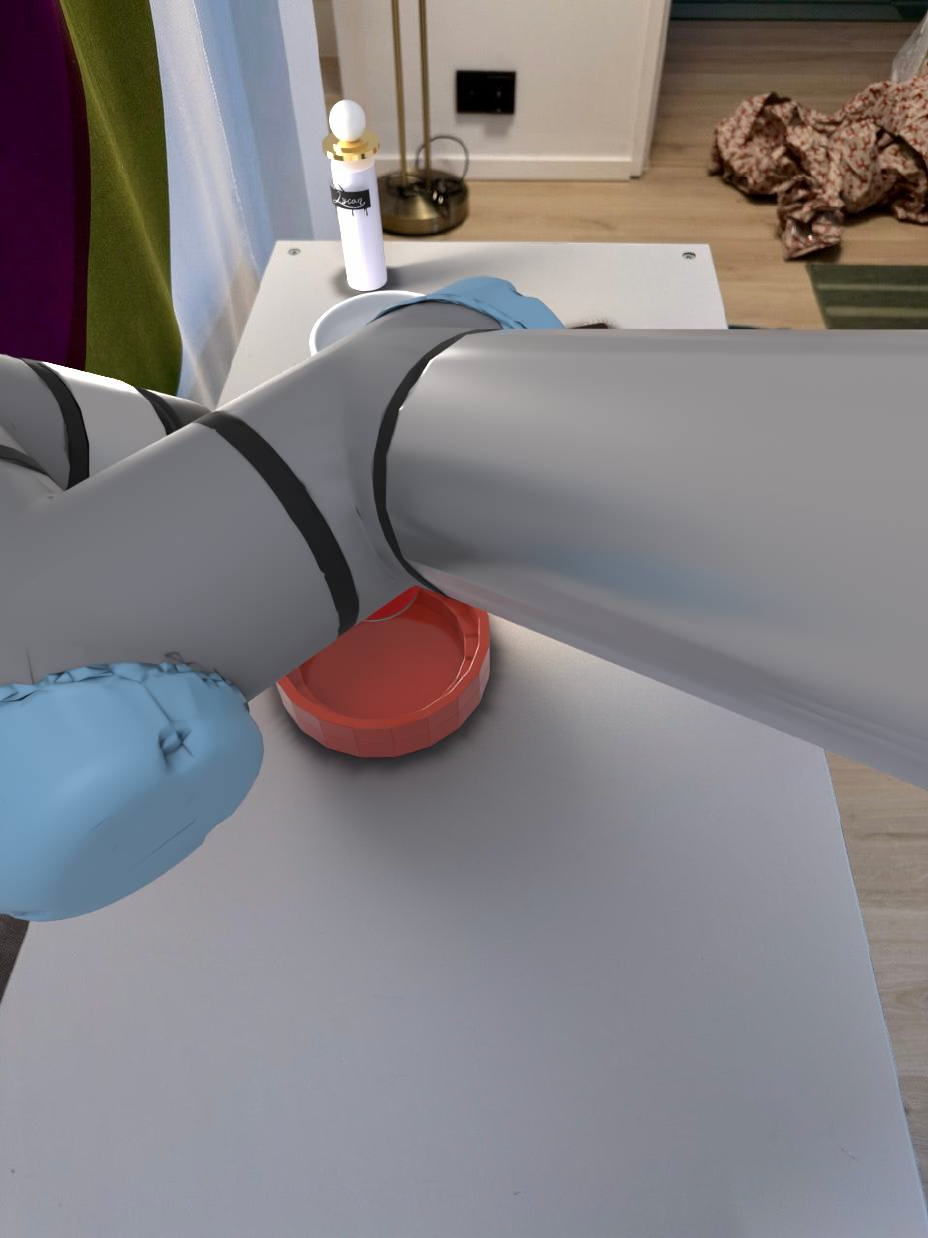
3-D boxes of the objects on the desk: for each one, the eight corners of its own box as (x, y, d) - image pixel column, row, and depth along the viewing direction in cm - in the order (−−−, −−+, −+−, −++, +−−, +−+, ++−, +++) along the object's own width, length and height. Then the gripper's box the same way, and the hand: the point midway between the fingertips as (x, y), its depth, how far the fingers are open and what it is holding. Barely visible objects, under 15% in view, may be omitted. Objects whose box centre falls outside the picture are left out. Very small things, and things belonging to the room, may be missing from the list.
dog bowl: (347, 329, 98) (339, 280, 93) (482, 348, 96) (482, 298, 91) (297, 420, 90) (286, 370, 85) (444, 443, 87) (441, 394, 82)
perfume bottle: (351, 268, 105) (326, 85, 89) (399, 273, 105) (381, 90, 89) (336, 296, 102) (307, 112, 86) (385, 302, 101) (365, 116, 85)
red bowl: (519, 725, 68) (521, 690, 64) (304, 790, 65) (292, 757, 61) (452, 567, 78) (450, 527, 74) (263, 617, 75) (250, 579, 71)
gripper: (-57, 469, 40) (273, 509, 60) (251, 683, 33) (505, 644, 53) (-9, 306, 38) (313, 404, 59) (328, 493, 31) (559, 529, 51)
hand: (404, 518), depth 56 cm, fingers closed on beverage can, 6 cm apart
